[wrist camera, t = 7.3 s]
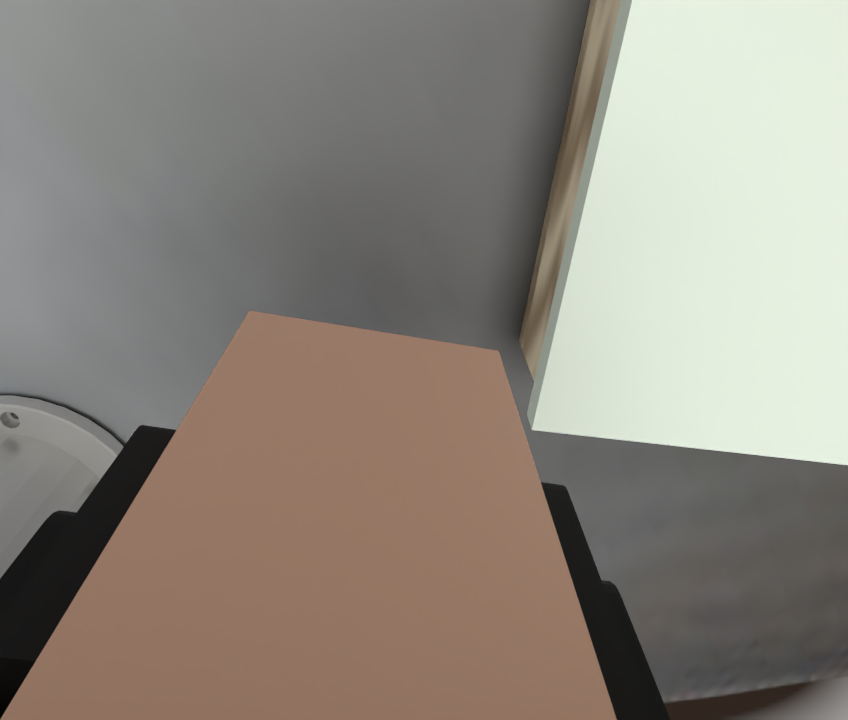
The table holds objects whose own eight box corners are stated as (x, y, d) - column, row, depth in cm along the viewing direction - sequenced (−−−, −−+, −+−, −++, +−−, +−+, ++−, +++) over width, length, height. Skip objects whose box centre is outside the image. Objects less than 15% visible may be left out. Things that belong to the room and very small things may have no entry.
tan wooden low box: (804, 375, 32) (884, 440, 27) (518, 340, 31) (541, 401, 26) (1008, -122, 24) (1181, -173, 19) (630, -190, 23) (697, -264, 18)
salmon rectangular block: (454, 526, 14) (550, 1420, 5) (233, 496, 13) (-125, 1421, 4) (498, 350, 12) (766, 1187, 3) (249, 310, 12) (-265, 1153, 3)
